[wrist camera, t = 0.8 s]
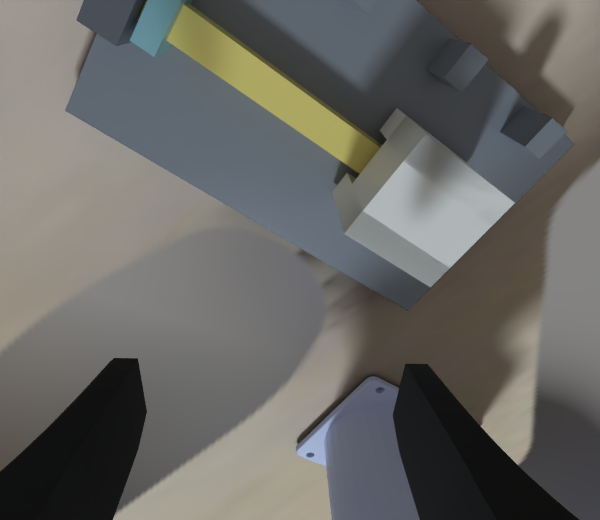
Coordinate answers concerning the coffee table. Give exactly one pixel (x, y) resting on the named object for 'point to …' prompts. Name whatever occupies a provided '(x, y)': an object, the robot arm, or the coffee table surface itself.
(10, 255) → the coffee table surface
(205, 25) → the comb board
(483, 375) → the coffee table surface
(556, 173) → the coffee table surface
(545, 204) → the coffee table surface
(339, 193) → the sleeve
